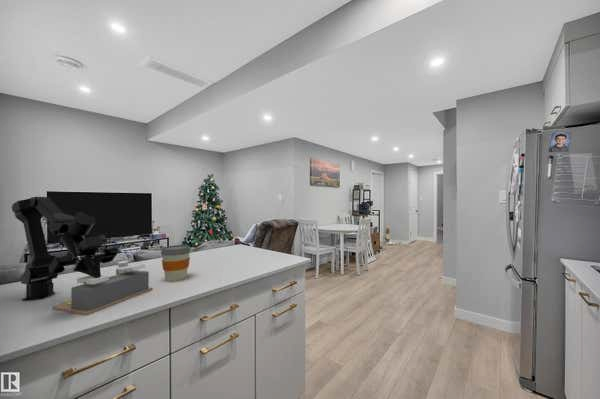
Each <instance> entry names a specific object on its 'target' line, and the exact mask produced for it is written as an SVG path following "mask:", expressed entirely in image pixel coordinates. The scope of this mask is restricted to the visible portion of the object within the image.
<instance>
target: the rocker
mask: <svg viewBox="0 0 600 399" xmlns="http://www.w3.org/2000/svg"><path fill="white" fill-rule="evenodd" d="M144 268H146V265H145V263H143V264H138V265H133V266H130V267H128V268H124V269H120V270H118V272H119V273H124V272H125V273H128V272H131V271H135V270H138V271H139V270H141V269H144Z"/></svg>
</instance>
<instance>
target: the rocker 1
mask: <svg viewBox="0 0 600 399" xmlns="http://www.w3.org/2000/svg"><path fill="white" fill-rule="evenodd" d="M109 277H110V276H109V275H104V274H101V276H100V277H99V278H95V277H92V276H90V275H86V276H82V277H77V278H76V284H96V283H99V282H103V281H106V280H109Z"/></svg>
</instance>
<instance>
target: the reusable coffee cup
mask: <svg viewBox="0 0 600 399" xmlns="http://www.w3.org/2000/svg"><path fill="white" fill-rule="evenodd" d="M190 253H191V247H190V245H187V244H179V245H177V244H176V245H175V244H174V245H169V246H164V247H162V248H161V257H162V260H161V262H162V263H161V264H162V265H161V266H162V270H163V271H164V277H165V278H164V279H165V281H166V282H179V281H182V279H183V280H185V279H187V275H188V268H189V267H190V266H189V265H190V259H191V257H190ZM184 278H185V279H184ZM178 280H179V281H178Z"/></svg>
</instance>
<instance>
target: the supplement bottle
mask: <svg viewBox="0 0 600 399" xmlns="http://www.w3.org/2000/svg"><path fill="white" fill-rule="evenodd" d="M128 267H131V266H130V263H129V260H121V261H118V262H117V267H116V268H115V275H119V274H122V273H119V272H118V270H120V269H124V268H128ZM124 273H125V272H124Z"/></svg>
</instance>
